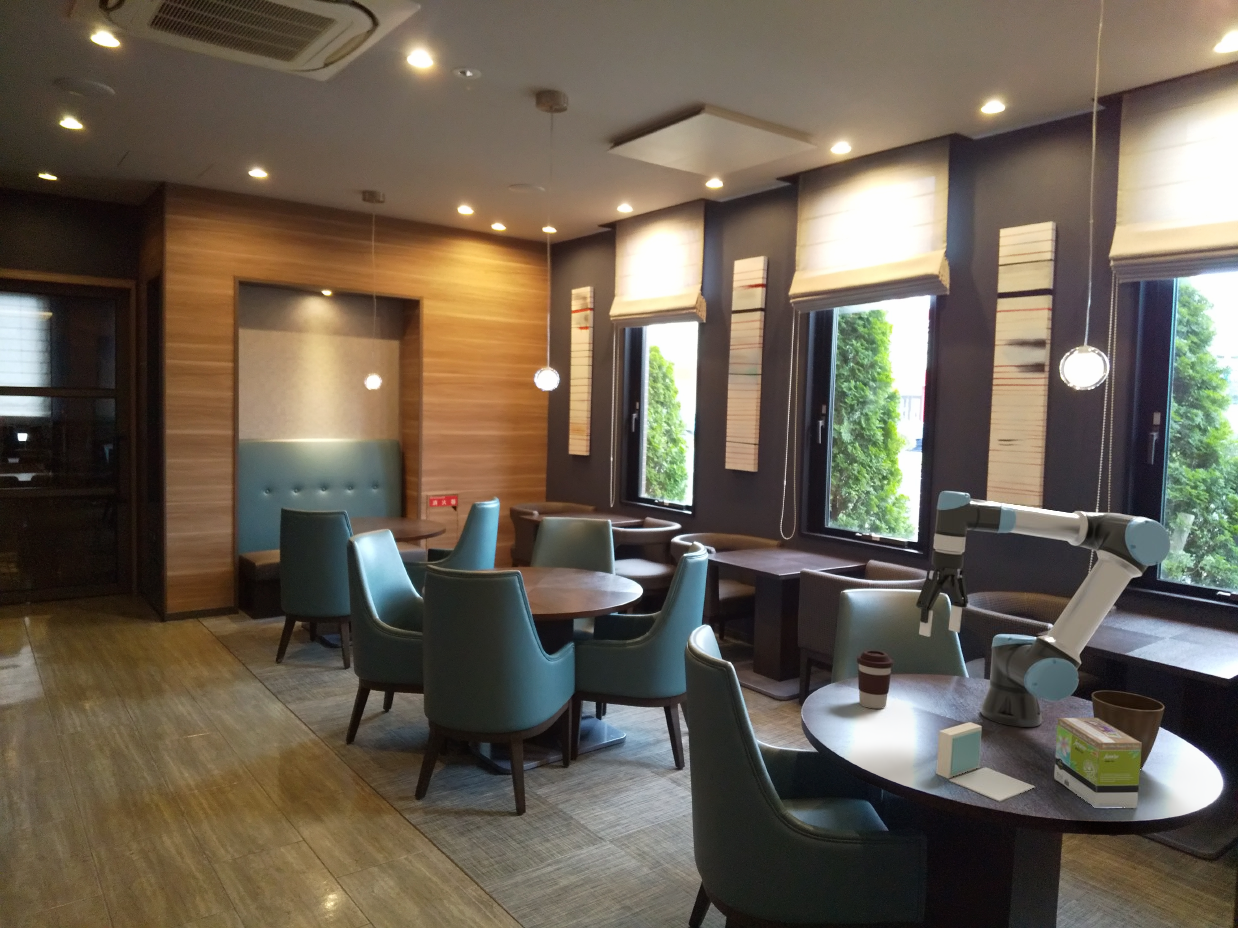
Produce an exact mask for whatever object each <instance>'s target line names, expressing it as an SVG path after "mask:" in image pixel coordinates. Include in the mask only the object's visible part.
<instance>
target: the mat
mask: <svg viewBox="0 0 1238 928" xmlns="http://www.w3.org/2000/svg"><path fill="white" fill-rule="evenodd" d="M948 779H949V782H951V783H953V784H956V785H958V786H961V787H963V788H965V789H968V790H970V791H973V792H975V793H978V794H980V795H983V796H985V797H986V798H990V799H992V800H994V801H997V802H999V803H1000V802H1002V801H1006V800H1008V799H1010V798H1013V797H1015V796H1018V795H1021V794H1023V793H1025V791H1026V792H1028V790H1029V791H1031V790H1033V789H1032V788H1034V789H1036V786H1035V785H1033V784H1029V783H1027V782H1025V781H1021V780H1019V779H1017V778H1014V777H1012V776H1009V775H1007V774H1004V773H1001V772H999V771H997V770H994V769H991V768H989V767H986V766H985V767H983V768H978V769H975V770H972V771H969V772H966V773H963V774H960V775H957V776H954V777H951V778H948ZM1030 789H1031V790H1030ZM1020 793H1021V794H1020Z"/></svg>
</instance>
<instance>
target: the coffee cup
mask: <svg viewBox="0 0 1238 928" xmlns="http://www.w3.org/2000/svg"><path fill="white" fill-rule="evenodd" d="M856 663H857V664H858V668H857V669H858V670H857V676H858V677H857V678H858V679H857V682H858V683H857V684H858V685H857V686H858V687H857V688H858V690H859V695H858V696H859V704H860V705H861V706H862V707H865V708H868V709H874V710H877V709H878V710H879V709H884V708H886V706H887V701H888V694H889V691H890V683H891V677H892V676H891V674H892V671H891V669H892V668H893V667H894V660H893V658H891V657H890V656H889V653H887V652H885V651H881V650H877V649H875V650H874V649H872V650H871V649H866V650H864V651H863V652H862V653H861V654H858V655H857V656H856Z"/></svg>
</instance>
